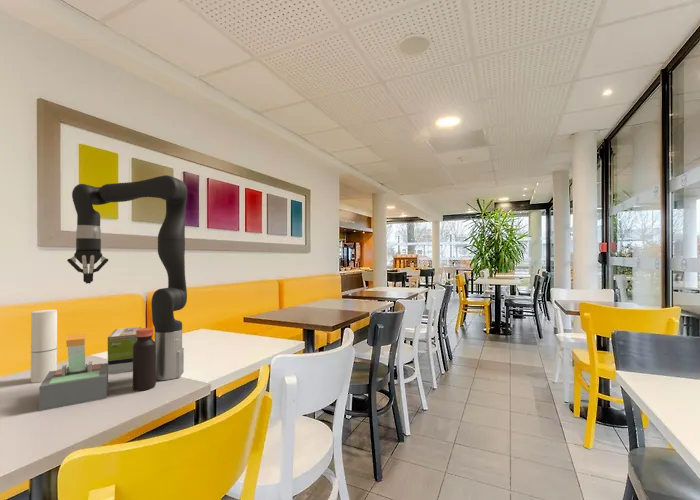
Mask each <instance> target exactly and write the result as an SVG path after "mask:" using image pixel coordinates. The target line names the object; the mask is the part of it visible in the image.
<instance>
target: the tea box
mask: <svg viewBox="0 0 700 500" xmlns="http://www.w3.org/2000/svg"><path fill="white" fill-rule="evenodd" d="M141 328H142V326H138V327H126V328H117V329H116V328H115V329H114V330H113V331H112V332H111V333H110V334H109V335H108V336H107V363H108V375H113V373H114V374H120V373H127V372H128V373H130V372H133V345H134V343H135V342H136V341H137V338H136V330H137V329H141Z"/></svg>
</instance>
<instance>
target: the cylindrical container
mask: <svg viewBox="0 0 700 500" xmlns="http://www.w3.org/2000/svg"><path fill="white" fill-rule="evenodd" d="M30 314H31V318H30V319H31V322H30V323H31V324H30V325H31V328H30V333H31V334H30V383H31V384H32V383H33V384H36V383H38V384H39V383H42V382H43V381H44V379H45V378H46V376H47V374H48V373H49V371H56V370H58V369H57V368H58V367H57V364H58V360H57V359H58V310H57V309H43V310H42V309H40V310H34V311H31V313H30Z"/></svg>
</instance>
